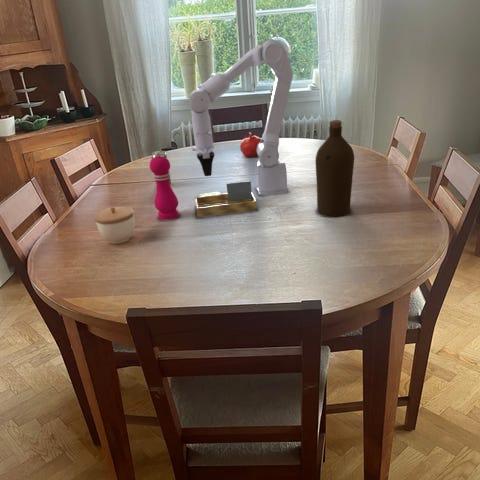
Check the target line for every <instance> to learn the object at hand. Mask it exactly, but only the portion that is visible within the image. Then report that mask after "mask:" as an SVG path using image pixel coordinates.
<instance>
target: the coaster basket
mask: <svg viewBox="0 0 480 480" xmlns="http://www.w3.org/2000/svg"><path fill="white" fill-rule="evenodd" d="M194 201H195V210H196V216H197V217H196V218H204V217H213V216H220V215H228V214H237V213H244V212H245V213H246V212H252V211H253V212H254V211H257V210H258V206H257V199H256V197H255V195H254V193H253V192H252V199H248V200H240V201H232V202H228V194H227V192H226V193H221V194H217V195H209V196H200V197H199V196H194Z"/></svg>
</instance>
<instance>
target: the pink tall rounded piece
mask: <svg viewBox="0 0 480 480" xmlns="http://www.w3.org/2000/svg"><path fill="white" fill-rule="evenodd" d="M156 151H157V150H155V151H152V152H151V155H150V156H151V160H152V159H153V158H154V157H156V156H155V152H156ZM159 151H160V152H161V156H163V157H166V158H167V159H168V157H167V152H166V151H165V150H159ZM168 172H170V170H169V171H168ZM169 181H170V185H172V181H171V177H170V178H169Z"/></svg>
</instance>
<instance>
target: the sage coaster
mask: <svg viewBox="0 0 480 480" xmlns="http://www.w3.org/2000/svg"><path fill="white" fill-rule="evenodd" d="M217 194H222V191H212V192H205V193H204V192H203V193H199V194H198V197H200V196H209V195H217Z"/></svg>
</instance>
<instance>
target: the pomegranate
mask: <svg viewBox="0 0 480 480" xmlns="http://www.w3.org/2000/svg"><path fill="white" fill-rule="evenodd" d="M261 140H262V138H260V135H256V134H255V135H254V134H253V136H252V132H251V131H250V132H248V135H247V136H243V137H242V140H241V142H240V146H239V147H240V152H241V154H242V155H243V156H244V157H245V158H253V157H259V156H258V154H257V146H258V144H259V143H260V142H261Z"/></svg>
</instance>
